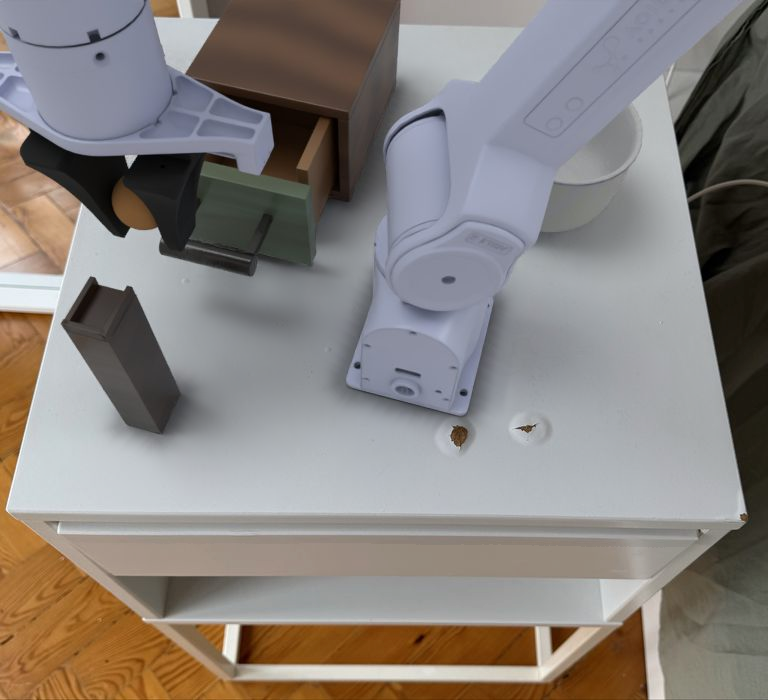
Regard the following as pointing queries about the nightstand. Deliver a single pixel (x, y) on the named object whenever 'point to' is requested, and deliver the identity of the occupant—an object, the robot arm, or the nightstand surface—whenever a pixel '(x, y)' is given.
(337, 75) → the cabinet
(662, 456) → the nightstand surface
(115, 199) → the ball
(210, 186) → the drawer
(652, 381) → the nightstand surface
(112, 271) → the nightstand surface
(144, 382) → the stand
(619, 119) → the teacup
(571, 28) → the robot arm
